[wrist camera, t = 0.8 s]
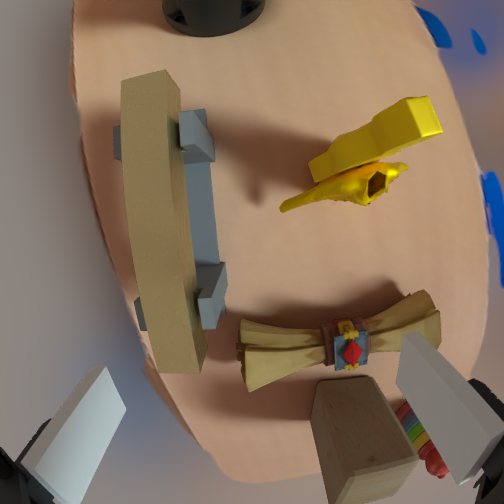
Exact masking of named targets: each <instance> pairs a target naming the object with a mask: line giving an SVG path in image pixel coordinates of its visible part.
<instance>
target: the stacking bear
mask: <svg viewBox="0 0 504 504" xmlns="http://www.w3.org/2000/svg"><path fill="white" fill-rule="evenodd" d="M396 417H397V418H398V420H399V422H400V423H401V425H402V427H403V429H404V430H405V432H406V434H407V436H408V437H409V439H410V441H411V443H412V444H413V446H414V448H415V450H416V452H417V453H418V455H419V459H421V460H425V462H426V463H425V464H426V469H427V471H428V472H429V473H430V474H431V475H434V476H437V477H438V478H439V479H442V478H444V477H445V474H446V473H448V472H450V471H449V469H448V468H447V466H446V464H445V462H444V461H443V459H442V457H441V455H440V454H439V452H438V450H437V449H436V447H435V445H434V444H433V442H432V440H431V439H430V437H429V435H428V434H427V432H426V430H425V429H424V427H423V425H422V424H421V422H420V421H419V419H418V417H417V416H416V414H415V413H414V411H413V409H412V408H411V406H410V405H409V403H408V402H407V403H406V404H404V405H403V406H402V407H401V408H400V409H399V411H398V412H397V413H396Z"/></svg>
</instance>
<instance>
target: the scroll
mask: <svg viewBox="0 0 504 504" xmlns="http://www.w3.org/2000/svg"><path fill="white" fill-rule="evenodd" d="M435 309H436V307H435V305H434V303H433V301H432V299H431V297H430V295H429V294H428V293H427V292H426V291H425V290H420V291H417V292H415V293H414V294H412V295H411V294H410V293H409V294H408V295H407V296H406V297H405V298H404V299H403V300H401V301H400V302H398V303H397V304H395V305H394V306H392V307H390V308H389V309H387V310H385V311H383V312H381V313H379V314H377V315H374V316H372V317H370V318H367V319H362V318H361V317H356V318H353V319H349V318H345V319H340V320H333V321H332V323H321V324H320V326H319V328H316V329H290V328H281V327H275V326H270V325H264V324H260V323H256V322H252V321H249V320H245V319H241V321H240V330H239V332H238V342H239V343H236V350H237V352H238V355H237V359H238V361H241V365H242V366H241V373H242V376H243V380H244V383H246V386H247V388H248V391H249V392H252V391H254V390H256V389H258V388H260V387H262V386H264V385H266V384H268V383H271V382H273V381H275V380H278V379H280V378H282V377H284V376H286V375H289V374H291V373H293V372H296V371H299V370H302V369H305V368H308V367H311V366H313V365H317V364H321V363H324V364H325V365H326V366H330V365H333V364H335V371H338V370H343V369H345V370H348V369H349V371H350V370H354V369H355V368H357V367H358V366H360V365H365V364H367V357H368V355H369V353H374V352H389V351H397V352H401V346H402V338H403V335H404V334H407V333H411V332H415V331H418V332H419V333H420V334H421V335H422V336H423V337H424V338H425V339H426V340H427V341H428V342H429V343H430V344H431V345H432V346H433V347H434V348H435V349H436V350H437V349H438V347H439V345H440V343H441V321H440V311H438V310H436V311H435Z"/></svg>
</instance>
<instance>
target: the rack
mask: <svg viewBox="0 0 504 504" xmlns="http://www.w3.org/2000/svg"><path fill="white" fill-rule="evenodd" d="M179 126H180V143H181V147H183V153H184V166H185V178H186V190H187V200H188V210H189V219H190V228H191V237H192V245H193V253H194V261H195V268H196V275H197V282H198V289H199V297H198V304H199V310H200V316H201V322H202V328H203V330H205V329H216V327H217V323H218V319H219V316H225V315H226V309H225V301H224V296H225V293H226V289H227V285H228V283H227V274H226V266H225V263H220V260H219V251H218V242H217V233H216V223H215V213H214V203H213V193H212V182H211V170H210V162H215V152H214V139H213V138H212V136H211V135H210V133H209V132H208V131H207V119H206V110H205V109H200V110H194V111H193V110H191V111H185V112H179ZM114 159H117V160H122V154H121V125H120V126H116V127H114ZM134 305H135V310H136V314H137V318H138V323H139V327H140V331H147V327H146V323H145V318H144V314H143V310H142V305H141V300H140V296H139V297H138V298H137V299H136V300H135V301H134Z"/></svg>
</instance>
